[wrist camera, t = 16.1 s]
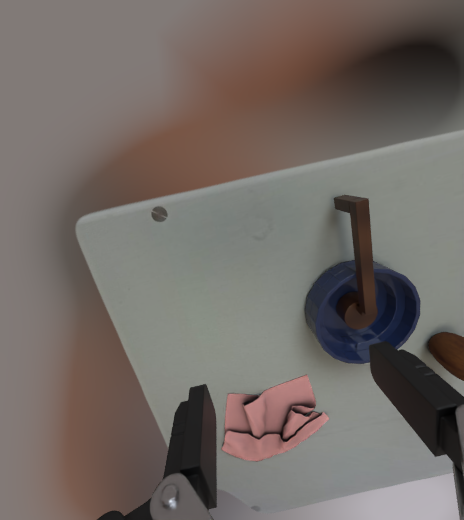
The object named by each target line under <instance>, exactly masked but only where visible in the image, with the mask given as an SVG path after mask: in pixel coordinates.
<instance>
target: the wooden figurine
mask: <svg viewBox="0 0 464 520" xmlns="http://www.w3.org/2000/svg"><path fill="white" fill-rule="evenodd" d="M428 346H429V350H430V352H431V354H432V355H433V357H434V358H435V359H436V360H437V361H438V362H439V363H440V364H441V365H442V366H443V367H444V368H445V369H446V370H447V371H449V372H450V373H451V374H453V375H454V376H455V377H457V378H459V379H461V380H463V381H464V337H462V336H459V335H457V334H453V333H448V332H441V333H438V334H436V335H434V336H433V337H432V338H431V339H430V341H429V345H428Z"/></svg>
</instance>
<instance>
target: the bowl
mask: <svg viewBox="0 0 464 520" xmlns="http://www.w3.org/2000/svg"><path fill="white" fill-rule="evenodd" d="M373 269H374V283H375V297H376V306H377V309H378V314H377V317H376V319H375V321H374V322H373V323H372V324H371V325H369V326H368V327H366V328H363V329H352V328H350V327H349V326H347V324H346V323H345V322H344V321H343V320H342V319H341V318H340V317H339V315H338V314H337V311H336V306H337V303H338V301H339V299H340V298H341V297H342V296H344V295H345V294H347V293H350V292H358V287H357V277H356V266H355V260H352V261H348V262H343V263H340V264H338V265H337V266H335V267H333V268H331V269H329V270H328V271H326V272H325V273H324V274H323V275H322V276H321V277H320V278H319V279H318V280H317V281H316V282H315V284H314V285H313V287H312V289H311V291H310V293H309V294H308V298H307V303H306V307H305V312H306V319H307V324H308V325H309V327H310V329H311V331H312V332H313V334H314V336H315V337H316V339H317V340H318V342H319V343H320V345H321V346H322V348H323V349H324V350H325V351H326V352H327V353H328V354H330V355H331V356H332V357H333V358H335V359H337V360H340V361H343V362H346V363H355V364H364V363H369V362H370V355H369V346H370V345H372V344H376V343H380V342H384V341H387V342H389V343H390V344H391V345H392V346H393V347H394V348H396V349H398V348H399V347H401V346H402V345H403V344H404V343H405V342H406V341H407V340H408V338H409V337H410V335H411V334H412V333H413V331H414V330H415V328H416V325H417V322H418V319H419V316H420V298H419V295H418V293H417V290H416V287H415V286H414V285H413V284H412V283H411V282H410V280H409V279H408V278H407V277H406V276H404V275H402V274H400V273H398V272H396V271H394V270H392V269H390V268H388V267H386V266H383V265H381V264H379V263H377V262H374V261H373Z"/></svg>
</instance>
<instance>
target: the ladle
mask: <svg viewBox="0 0 464 520" xmlns="http://www.w3.org/2000/svg"><path fill="white" fill-rule="evenodd" d="M334 203H335V209H337V210H340V211H344V212H347V213H350V216H351V226H352V236H353V246H354V256H355V266H356V277H357V287H358V292H350V293H347V294H345V295H344V296H342V297H341V298H340V299H339V301H338V303H337V306H336V311H337V314H338V315H339V317H340V318H341V319H342V320H343V321H344V322H345V323H346V324H347V326H349V327H350V328H352V329H363V328H366V327H368V326H369V325H371V324H372V323H373V322H374V321H375V319H376V317H377V314H378V309H377V306H376V297H375V283H374V269H373V256H372V242H371V228H370V214H369V200H368V199H367V198H361V197H355V196H349V195H342V196H339V197H335V198H334Z"/></svg>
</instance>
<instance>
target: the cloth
mask: <svg viewBox="0 0 464 520" xmlns="http://www.w3.org/2000/svg"><path fill="white" fill-rule="evenodd" d="M315 406H316V400H315V397H314V394H313V391H312V388H311V384H310V381H309V379H308V376H307V375H305V376H302V377H299V378H297V379H294V380H291V381H288V382H286V383H283V384H280V385H278V386H275V387H272V388H270V389H268V390H265V391H264V392H263V393H262V394H261V396H259V395H246V394H228V398H227V406H226V416H225V440H224V441H225V443H224V445H223V447H222V449H221V450H223V451H225V452H227V453H229V454H231V455H233V456H235V457H238V458H242V459H245V460H250V461H260V460H263V459H265V458H270V457H272V456H273V455H277V454H279V453H284V452H286V451H288V450H290V449H292V448H294V447H296V446H297V445H298V444H299V443H300V442H302V441H304V440H306V439H307V438H308V437H309V436H310V435H311V434H313V433H315V432H316V431H318V430H319V429H320V428H321V426H322V425H323V424H324V423H325V422H326V421H327V420H329V418H328V417H327V415H326V414H325V413H324V412H323V413H322V414H319V413H316V412H311V413H310V414H309V416H308V417H305V415H306V414H307V413H308V412H310V411H311V410H313V409H314V408H315Z"/></svg>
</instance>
